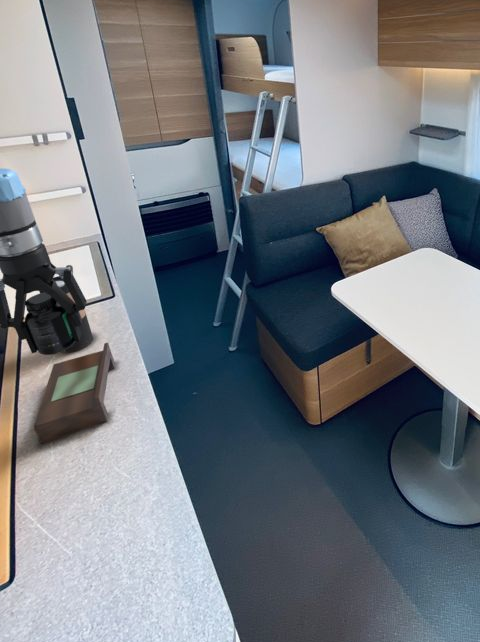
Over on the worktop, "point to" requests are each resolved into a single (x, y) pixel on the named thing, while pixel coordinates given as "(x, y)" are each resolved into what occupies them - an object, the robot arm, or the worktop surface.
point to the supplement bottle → (48, 324)
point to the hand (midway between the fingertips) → (57, 343)
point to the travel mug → (84, 327)
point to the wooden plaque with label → (74, 396)
